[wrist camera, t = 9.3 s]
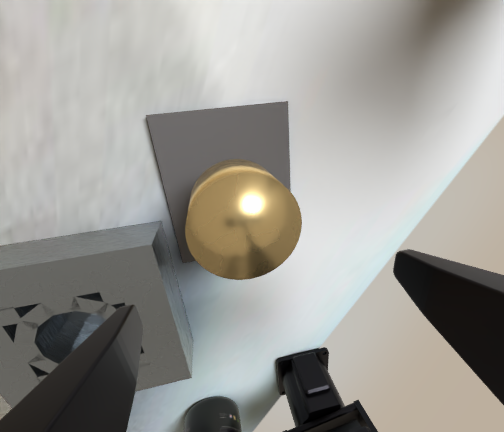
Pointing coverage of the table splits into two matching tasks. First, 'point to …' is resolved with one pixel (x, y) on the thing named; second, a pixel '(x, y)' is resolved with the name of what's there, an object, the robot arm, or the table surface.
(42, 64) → the table surface
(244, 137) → the rubber mat
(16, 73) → the table surface
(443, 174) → the table surface
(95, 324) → the housing
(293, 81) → the table surface
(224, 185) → the end cover
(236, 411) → the supplement bottle
